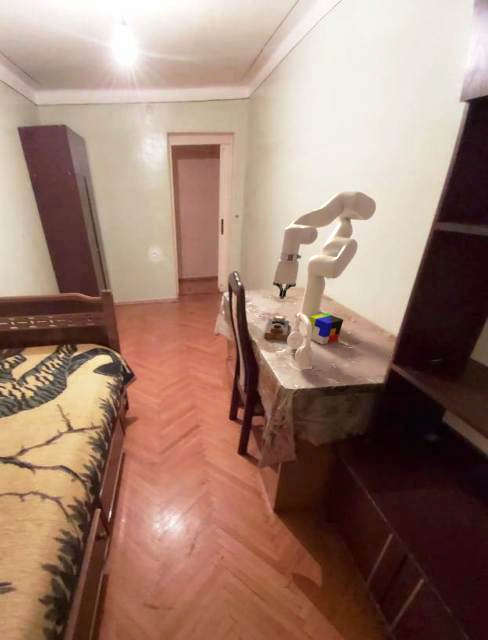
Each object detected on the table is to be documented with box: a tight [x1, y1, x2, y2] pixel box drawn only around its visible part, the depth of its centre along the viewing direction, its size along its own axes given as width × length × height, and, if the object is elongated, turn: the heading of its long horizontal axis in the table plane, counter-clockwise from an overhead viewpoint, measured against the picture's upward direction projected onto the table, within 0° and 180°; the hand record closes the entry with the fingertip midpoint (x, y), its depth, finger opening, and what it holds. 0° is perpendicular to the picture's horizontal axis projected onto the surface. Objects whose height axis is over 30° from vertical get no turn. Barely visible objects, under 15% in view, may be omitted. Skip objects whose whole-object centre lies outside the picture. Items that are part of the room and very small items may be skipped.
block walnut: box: [264, 324, 289, 342], centre depth 152 cm, size 10×10×4 cm
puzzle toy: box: [305, 312, 344, 345], centre depth 147 cm, size 10×10×10 cm
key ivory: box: [275, 315, 284, 321], centre depth 160 cm, size 3×3×2 cm
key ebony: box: [274, 323, 281, 328], centre depth 150 cm, size 3×3×2 cm
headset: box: [286, 314, 314, 370], centre depth 127 cm, size 20×7×18 cm, turn 176°
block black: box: [267, 316, 290, 328], centre depth 161 cm, size 10×10×4 cm
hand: (282, 298), depth 154 cm, fingers closed
